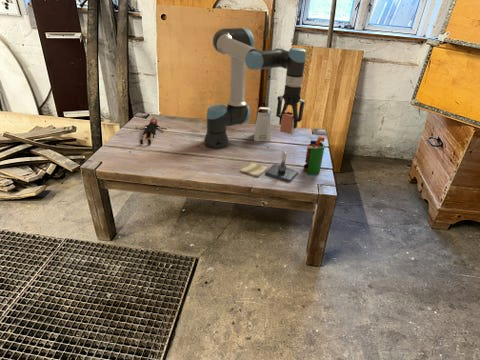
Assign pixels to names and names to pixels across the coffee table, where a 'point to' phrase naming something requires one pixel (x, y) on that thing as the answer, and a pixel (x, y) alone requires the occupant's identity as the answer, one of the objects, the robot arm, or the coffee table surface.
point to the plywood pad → (254, 169)
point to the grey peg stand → (282, 170)
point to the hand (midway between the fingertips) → (286, 132)
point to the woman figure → (150, 130)
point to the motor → (314, 156)
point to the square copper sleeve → (287, 122)
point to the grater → (262, 126)
